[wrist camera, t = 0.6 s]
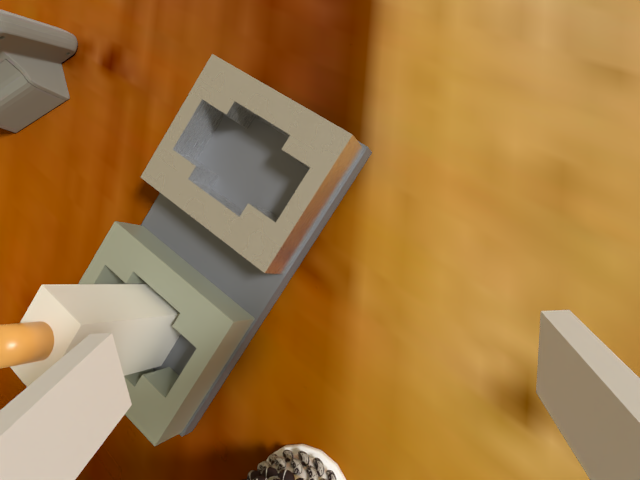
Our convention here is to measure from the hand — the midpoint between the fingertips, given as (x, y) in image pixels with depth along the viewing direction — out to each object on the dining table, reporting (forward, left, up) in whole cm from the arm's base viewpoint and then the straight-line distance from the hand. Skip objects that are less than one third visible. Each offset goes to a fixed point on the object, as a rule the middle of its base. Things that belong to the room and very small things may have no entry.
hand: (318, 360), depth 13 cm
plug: (+6, +22, -21) cm, 31 cm away
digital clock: (+39, +32, -22) cm, 55 cm away
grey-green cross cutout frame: (+6, +22, -21) cm, 31 cm away
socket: (+16, +8, -21) cm, 27 cm away
